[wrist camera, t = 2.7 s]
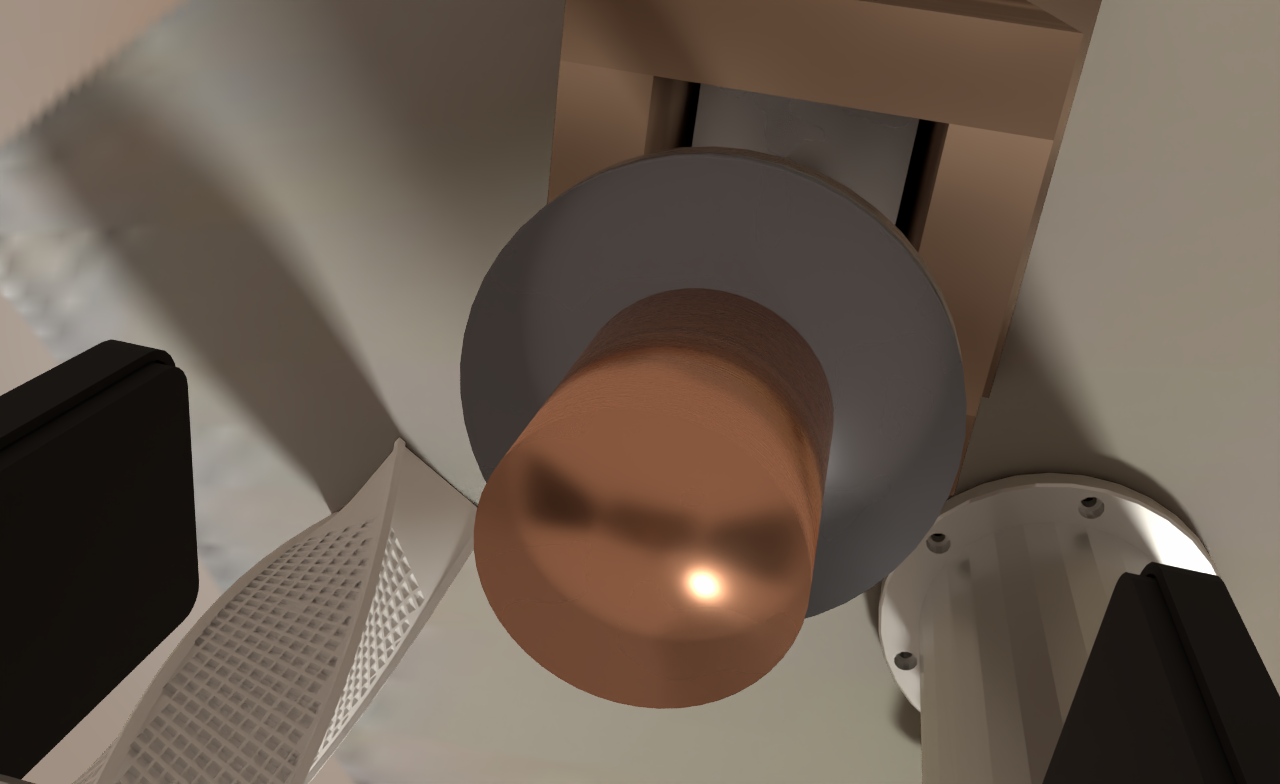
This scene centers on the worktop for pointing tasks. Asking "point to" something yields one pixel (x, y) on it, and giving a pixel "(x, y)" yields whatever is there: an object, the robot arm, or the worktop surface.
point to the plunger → (709, 400)
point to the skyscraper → (300, 641)
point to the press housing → (863, 79)
